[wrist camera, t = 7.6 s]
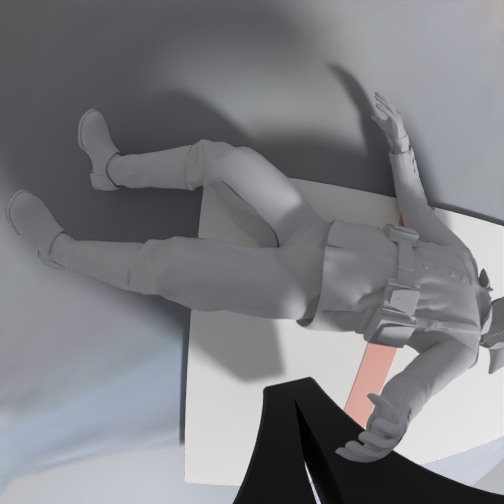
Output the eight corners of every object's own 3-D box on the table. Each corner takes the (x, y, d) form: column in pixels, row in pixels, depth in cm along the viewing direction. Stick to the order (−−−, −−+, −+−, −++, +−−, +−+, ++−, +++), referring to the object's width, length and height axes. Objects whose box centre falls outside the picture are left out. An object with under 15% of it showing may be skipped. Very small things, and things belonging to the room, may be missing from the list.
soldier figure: (150, 51, 8) (558, 138, 5) (179, 170, 12) (493, 238, 9) (-51, 285, 4) (631, 434, 1) (76, 369, 8) (495, 463, 5)
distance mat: (584, 254, 10) (587, 255, 10) (510, 430, 13) (512, 432, 13) (206, 166, 8) (206, 166, 8) (184, 478, 11) (184, 482, 10)
